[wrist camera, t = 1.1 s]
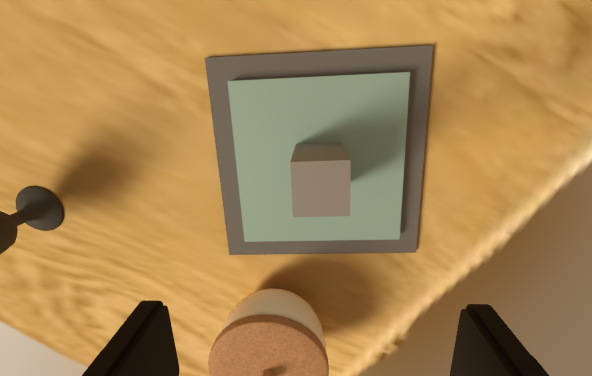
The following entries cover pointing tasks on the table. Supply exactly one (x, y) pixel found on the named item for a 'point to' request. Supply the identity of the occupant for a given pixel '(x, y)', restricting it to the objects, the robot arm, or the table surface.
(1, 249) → the sundae
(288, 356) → the lidded jar
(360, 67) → the mat
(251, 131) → the lid
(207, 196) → the table surface
